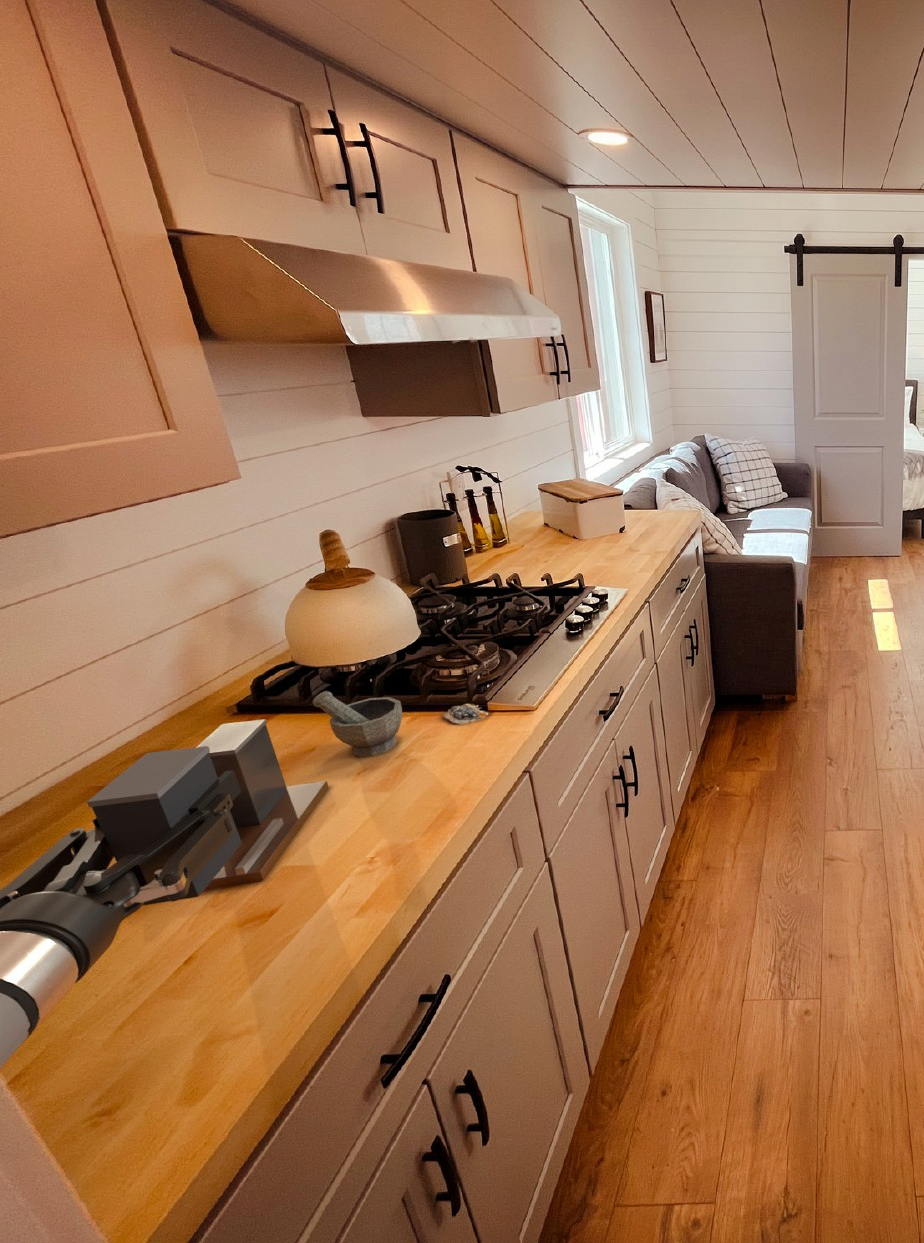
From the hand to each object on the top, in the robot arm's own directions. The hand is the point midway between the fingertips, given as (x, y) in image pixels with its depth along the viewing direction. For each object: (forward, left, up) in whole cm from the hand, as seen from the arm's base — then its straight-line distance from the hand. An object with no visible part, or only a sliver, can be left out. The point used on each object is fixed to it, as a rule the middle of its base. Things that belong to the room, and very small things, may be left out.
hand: (200, 785), depth 73 cm
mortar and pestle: (-1, +40, -20) cm, 45 cm away
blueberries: (+12, +48, -20) cm, 53 cm away
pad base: (-10, +19, -20) cm, 29 cm away
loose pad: (0, -5, -7) cm, 9 cm away
